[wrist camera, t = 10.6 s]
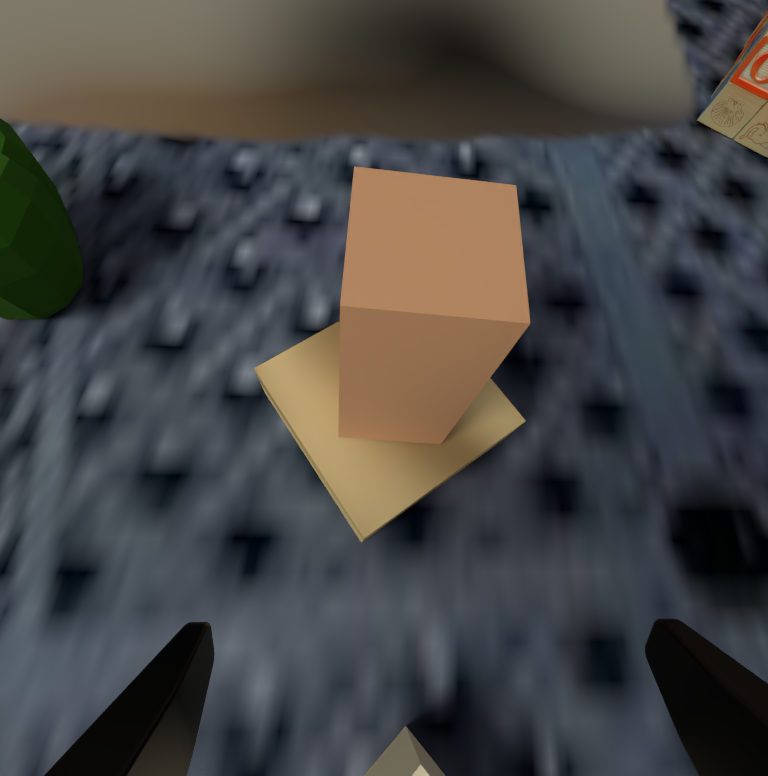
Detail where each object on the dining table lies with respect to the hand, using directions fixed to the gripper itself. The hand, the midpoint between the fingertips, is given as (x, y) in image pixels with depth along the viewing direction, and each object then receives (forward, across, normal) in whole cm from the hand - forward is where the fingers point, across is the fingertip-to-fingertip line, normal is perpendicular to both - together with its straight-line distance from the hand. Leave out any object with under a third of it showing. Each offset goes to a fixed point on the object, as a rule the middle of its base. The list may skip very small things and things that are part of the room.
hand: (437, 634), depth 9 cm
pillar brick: (+12, 0, 0) cm, 12 cm away
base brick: (+15, 0, +2) cm, 15 cm away
